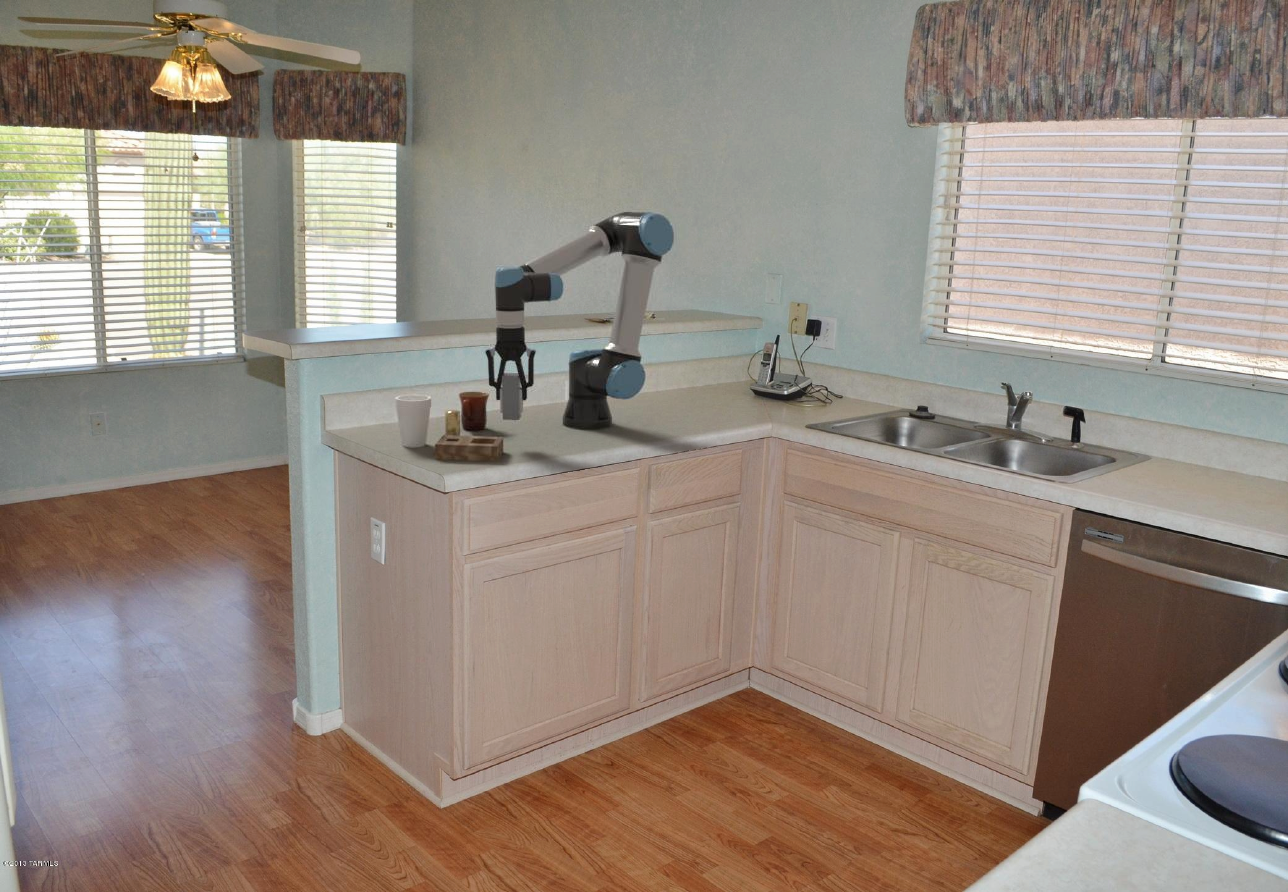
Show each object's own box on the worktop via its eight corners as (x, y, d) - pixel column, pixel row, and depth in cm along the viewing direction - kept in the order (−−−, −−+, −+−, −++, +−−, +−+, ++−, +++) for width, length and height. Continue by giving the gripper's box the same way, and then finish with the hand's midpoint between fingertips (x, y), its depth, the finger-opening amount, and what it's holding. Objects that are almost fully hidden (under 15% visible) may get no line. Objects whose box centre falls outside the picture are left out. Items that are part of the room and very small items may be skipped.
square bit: (521, 416, 284) (520, 373, 281) (519, 419, 279) (518, 376, 276) (505, 416, 284) (504, 373, 281) (502, 419, 279) (501, 375, 276)
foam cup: (399, 440, 286) (398, 394, 283) (433, 441, 287) (432, 395, 284) (394, 448, 277) (393, 400, 274) (429, 449, 278) (428, 401, 275)
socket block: (503, 451, 278) (503, 437, 277) (497, 461, 267) (497, 446, 266) (443, 449, 278) (443, 435, 277) (435, 459, 267) (435, 444, 266)
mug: (465, 424, 310) (465, 390, 308) (493, 426, 308) (493, 392, 306) (450, 432, 299) (449, 397, 296) (478, 434, 297) (478, 399, 295)
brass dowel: (461, 442, 287) (461, 410, 285) (458, 445, 283) (458, 413, 281) (446, 441, 287) (446, 409, 285) (444, 445, 283) (443, 412, 281)
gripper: (544, 324, 279) (545, 409, 285) (479, 323, 279) (482, 408, 285) (541, 328, 272) (542, 415, 277) (475, 327, 272) (477, 414, 278)
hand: (511, 411), depth 281 cm, fingers closed on square bit, 4 cm apart
